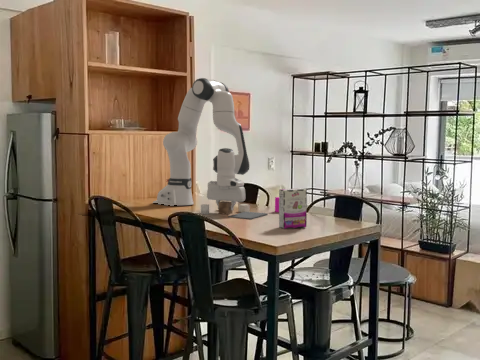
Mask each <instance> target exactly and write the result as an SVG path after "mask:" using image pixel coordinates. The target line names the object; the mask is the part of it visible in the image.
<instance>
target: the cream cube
mask: <svg viewBox="0 0 480 360" xmlns="http://www.w3.org/2000/svg"><path fill="white" fill-rule="evenodd" d="M250 206H251V205H250V204H246V203H242V204H238V213H242V212H251V211H250V210H251V209H250V208H251V207H250Z"/></svg>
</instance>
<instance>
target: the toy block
mask: <svg viewBox="0 0 480 360" xmlns="http://www.w3.org/2000/svg"><path fill="white" fill-rule="evenodd" d="M274 212H276V213H279V196H278V197H275V198H274Z"/></svg>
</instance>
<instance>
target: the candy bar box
mask: <svg viewBox="0 0 480 360" xmlns="http://www.w3.org/2000/svg"><path fill="white" fill-rule="evenodd" d="M278 190H279V191H278V197H279V212H278V227H279V228H280V229H284V230H286V229H287V230H288V229H289V230H291V229H299V228H300V229H301V228H307V214H308V213H307V211H308V210H307V205H308V201H307V200H308V199H307V196H308V194H307V188H303V187H302V188H284V189H283V188H282V189H278Z"/></svg>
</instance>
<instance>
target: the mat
mask: <svg viewBox="0 0 480 360" xmlns="http://www.w3.org/2000/svg"><path fill="white" fill-rule="evenodd" d="M265 216H268V212H267V213H265V212H257V211H254V212H253V211H250V212H242V213H241V212H238V213H235V214H230V215H227V218H231V219H232V218H233V219H240V220H250V221H251V220H255V219H259V218H262V217H265Z"/></svg>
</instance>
